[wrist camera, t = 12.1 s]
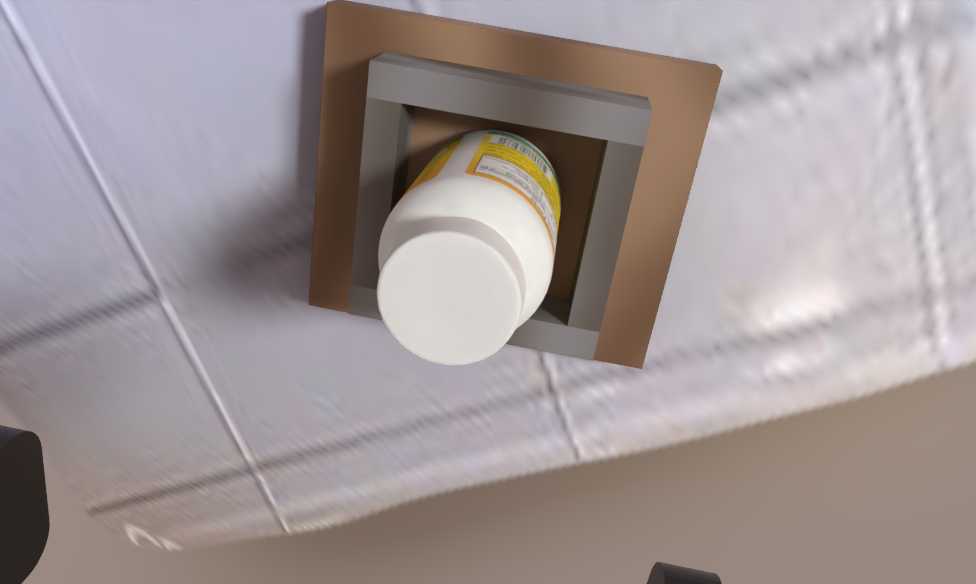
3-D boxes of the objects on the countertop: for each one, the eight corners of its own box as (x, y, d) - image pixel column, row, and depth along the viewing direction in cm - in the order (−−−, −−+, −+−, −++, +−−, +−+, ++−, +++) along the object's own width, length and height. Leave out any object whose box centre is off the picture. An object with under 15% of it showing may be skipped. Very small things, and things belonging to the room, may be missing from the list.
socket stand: (320, 290, 34) (287, 332, 30) (339, -1, 29) (303, 7, 25) (639, 351, 33) (645, 401, 30) (716, 64, 28) (735, 82, 25)
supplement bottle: (552, 117, 28) (536, 194, 20) (569, 255, 30) (561, 380, 22) (408, 136, 29) (331, 218, 20) (434, 269, 31) (374, 394, 22)
